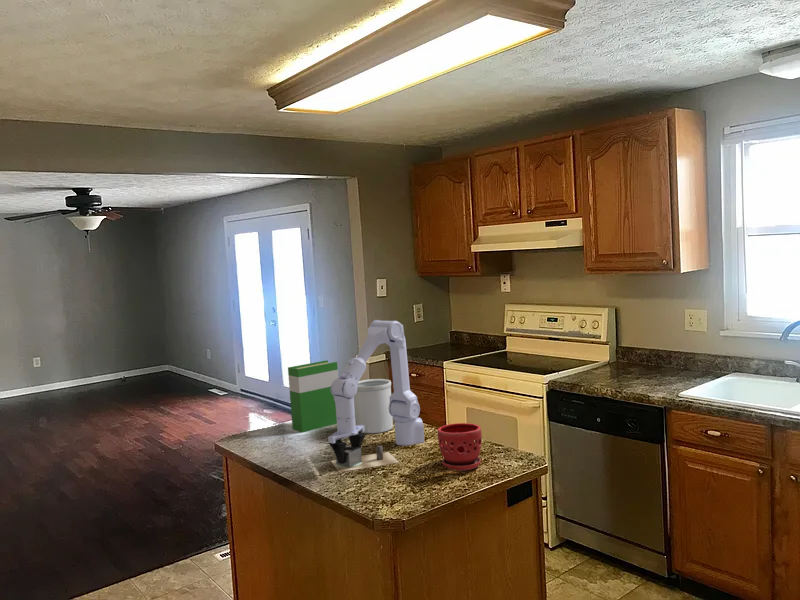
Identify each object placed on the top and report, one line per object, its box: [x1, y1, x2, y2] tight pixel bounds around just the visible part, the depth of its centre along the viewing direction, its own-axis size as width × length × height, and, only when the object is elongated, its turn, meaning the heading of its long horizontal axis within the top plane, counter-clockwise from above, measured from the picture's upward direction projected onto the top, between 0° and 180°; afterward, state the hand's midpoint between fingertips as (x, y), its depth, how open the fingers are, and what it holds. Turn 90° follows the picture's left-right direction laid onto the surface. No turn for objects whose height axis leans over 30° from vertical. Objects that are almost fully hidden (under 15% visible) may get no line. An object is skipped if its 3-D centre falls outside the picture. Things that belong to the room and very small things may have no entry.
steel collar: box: [335, 444, 363, 467], centre depth 206 cm, size 6×6×4 cm
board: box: [330, 445, 400, 473], centre depth 207 cm, size 19×12×6 cm, turn 108°
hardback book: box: [287, 359, 339, 433], centre depth 257 cm, size 18×7×24 cm, turn 129°
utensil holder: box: [354, 378, 394, 434], centre depth 248 cm, size 15×15×18 cm
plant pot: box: [437, 422, 483, 472], centre depth 200 cm, size 13×13×12 cm
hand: (348, 459), depth 206 cm, fingers open, 6 cm apart
